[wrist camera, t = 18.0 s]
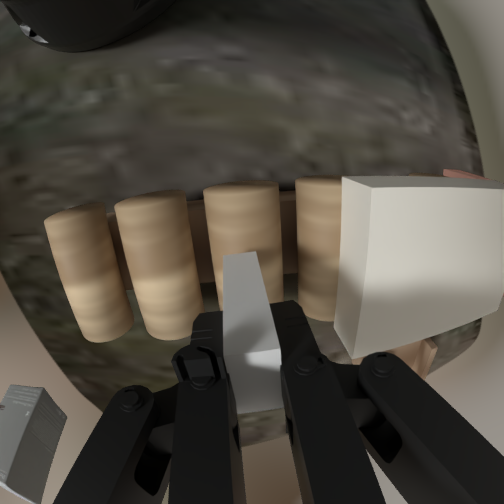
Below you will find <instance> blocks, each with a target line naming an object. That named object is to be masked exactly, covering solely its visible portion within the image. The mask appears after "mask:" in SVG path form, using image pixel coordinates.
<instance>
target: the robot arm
mask: <svg viewBox="0 0 504 504" xmlns="http://www.w3.org/2000/svg"><path fill="white" fill-rule="evenodd" d="M0 1H1V2H2V3H3V4H4V6H5V7H6V9H7V10H8V12H9V13H10V14H11V16H12V17H13V19H14V20H15V21H16V23H17V24H18V25H19V26H20V28H21V30H22V31H23V33H24V34H25V35H26V36H27V37H28V38H29V39H31V40H32V41H34V42H35V43H37V44H40V45H42V46H45V47H47V48H50V49H53V50H56V51H61V52H80V51H86V50H91V49H95V48H98V47H102V46H105V45H108V44H110V43H113V42H115V41H117V40H119V39H122V38H124V37H126V36H128V35H130V34H131V33H133V32H135V31H137V30H138V29H140V28H142V27H143V26H145V25H146V24H148V23H149V22H151V21H152V20H153V19H155V18H156V17H157V16H159V15H160V14H161V13H163V12H164V11H165V10H166V9H167V8H168V7H169V6H170V5H171V4H173V3H174V2H175V0H0ZM171 362H172V365H173V367H174V370H175V373H176V375H177V378H178V380H179V383H177V384H176V385H174V386H173V387H170V388H168V389H165V390H161V391H158V392H155V393H152V392H151V391H150V390H149V389H148V388H146V387H143V386H141V385H132V386H128V387H125V388H123V389H121V390H120V391H118V392H117V393H116V394H115V395H114V396H113V398H112V399H111V401H110V403H109V404H108V406H107V408H106V409H105V411H104V413H103V414H102V416H101V418H100V419H99V421H98V423H97V425H96V426H95V428H94V430H93V432H92V433H91V435H90V437H89V438H88V440H87V442H86V444H85V445H84V447H83V449H82V451H81V452H80V454H79V456H78V458H77V460H76V461H75V463H74V465H73V467H72V468H71V470H70V472H69V474H68V476H67V478H66V480H65V481H64V483H63V485H62V487H61V489H60V491H59V493H58V494H57V496H56V498H55V500H54V503H53V504H161V503H162V500H163V498H164V495H165V492H166V490H167V487H168V484H169V499H168V504H247V503H246V493H245V483H244V474H243V462H242V451H241V439H240V427H239V424H238V420H237V413H238V414H240V413H249V412H257V411H265V410H272V409H278V408H284V409H285V416H286V433H288V435H289V439H290V444H291V449H292V454H293V459H294V463H295V468H296V473H297V478H298V483H299V488H300V492H301V497H302V502H303V504H386V502H385V499H384V496H383V494H382V491H381V488H380V486H379V483H378V480H377V478H376V475H375V472H374V470H373V467H372V464H371V462H370V459H369V456H368V454H367V451H368V452H369V454H370V455H371V456H372V458H373V459H374V460H375V462H376V463H377V464H378V466H379V467H380V468H381V469H382V471H383V472H384V473H385V475H386V476H387V477H388V478H389V480H390V481H391V482H392V484H393V485H394V486H395V488H396V489H397V490H398V491H399V493H400V494H401V495H402V496H403V498H404V499H405V500H406V501H407V503H408V504H504V456H502V455H501V453H500V452H499V451H498V450H496V449H495V448H494V447H493V446H492V445H491V444H490V443H489V442H488V441H487V440H486V439H485V438H484V437H483V436H482V435H481V434H480V433H479V432H478V431H477V430H476V429H475V428H474V427H473V426H472V425H471V424H470V423H469V422H468V421H467V420H466V419H465V418H464V417H462V416H461V415H460V414H459V413H458V412H457V411H456V410H455V409H454V408H453V407H451V405H450V404H449V403H448V402H447V401H446V400H445V399H444V398H442V397H441V396H440V395H439V394H438V393H437V392H436V391H435V390H434V389H433V388H432V387H431V386H429V384H427V383H426V382H425V381H424V380H423V379H422V378H421V377H420V376H419V375H418V374H417V373H416V372H415V371H413V370H412V369H411V368H410V367H409V366H408V365H407V364H406V363H405V362H404V361H403V360H402V359H400V358H399V357H397V356H396V355H394V354H392V353H388V352H375V353H372V354H369V355H367V356H366V357H365V358H363V360H362V362H361V363H360V365H349V364H338V363H335V362H332V361H330V360H329V359H328V358H327V357H326V356H325V355H323V354H322V353H321V352H320V350H319V348H318V345H317V343H316V341H315V338H314V336H313V333H312V331H311V328H310V326H309V324H308V321H307V319H306V317H305V314H304V311H303V309H302V307H301V306H300V305H299V304H297V303H296V302H295V301H294V300H290V301H283V302H277V303H270V304H269V301H268V297H267V293H266V289H265V285H264V282H263V278H262V274H261V270H260V266H259V262H258V258H257V254H256V251H254V252H246V253H239V254H231V255H223V311H215V312H206V313H199V315H198V316H197V317H196V319H195V320H194V321H193V326H192V334H191V342H190V345H187V346H185V347H183V348H181V349H180V350H179V351H178V352H176V353H175V354H174V356H173V358H172V361H171ZM366 450H367V451H366ZM169 481H170V482H169Z"/></svg>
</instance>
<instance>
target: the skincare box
mask: <svg viewBox="0 0 504 504" xmlns="http://www.w3.org/2000/svg"><path fill="white" fill-rule="evenodd" d="M66 419H67V416H66V415H65V413H64V412H63V411H62V410H61V409H60V408H59V407H58V406H57V405H56V403H55V402H54V401H53V399H52V398H51V397H50V395H49V394H48V393H47V391H46V390H45V389H44V388H43V387H27V386H20V385H10V386H9V388H8V390H7V392H6V394H5V396H4V398H3V399H2V401H1V403H0V486H1V487H3V488H4V489H6V490H8V491H9V492H11V493H13V494H15V495H16V496H18V497H20V498H22V499H24V500H26V501H28V502H31V503H33V504H41V501H42V496H43V493H44V489H45V485H46V481H47V478H48V474H49V471H50V467H51V464H52V461H53V458H54V454H55V451H56V448H57V445H58V442H59V439H60V436H61V434H62V431H63V428H64V425H65V422H66Z"/></svg>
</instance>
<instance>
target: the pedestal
mask: <svg viewBox="0 0 504 504" xmlns="http://www.w3.org/2000/svg"><path fill="white" fill-rule="evenodd" d="M437 348H438V347H437V346H436V345H435V343H434V342H433V341H432V340H431V339H430V337H429V338H426V339H423V340H419V341H416V342H413V343H410V344H407V345H404V346H400V347H397V348H393V349H390V350H386V351H383V352H388V353H392V354H394V355H396V356H397V357H399V358H400V359H402V360H403V361H404V362H405V363H406V364H407V365H408V366H409V367H410V368H411V369H412V370H413V371H415V372H416V373H417V374H418V375H419V376H420V377H421V378H422V379H423V380H424V381H425V378H426V376H427V374H428V371H429V369H430V366H431V364H432V361H433V359H434V356H435V353H436V351H437ZM365 357H366V356H364V357H360V358H356V359H352V363H353V365H360V363H361V362H362V360H363V358H365Z"/></svg>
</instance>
